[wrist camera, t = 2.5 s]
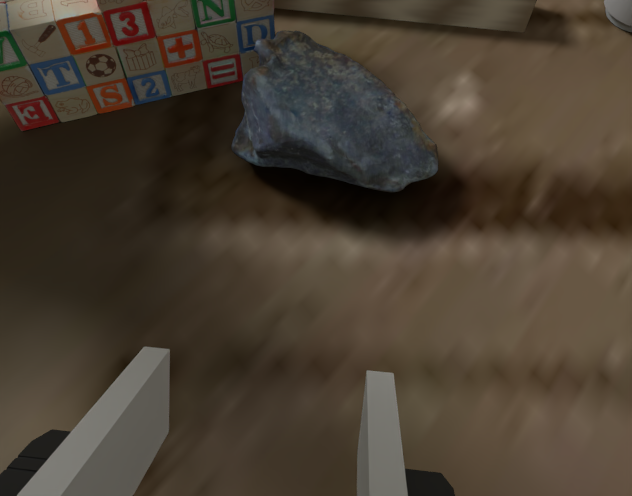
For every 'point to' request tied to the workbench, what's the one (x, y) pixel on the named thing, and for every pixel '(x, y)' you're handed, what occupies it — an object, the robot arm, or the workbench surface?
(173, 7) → the stack of blocks
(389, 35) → the workbench surface
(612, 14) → the energy drink can
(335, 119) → the rock
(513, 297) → the workbench surface
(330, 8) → the plank
